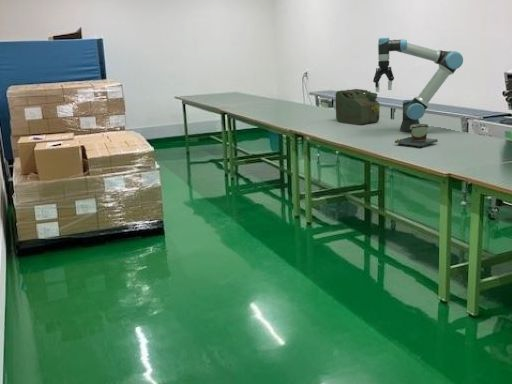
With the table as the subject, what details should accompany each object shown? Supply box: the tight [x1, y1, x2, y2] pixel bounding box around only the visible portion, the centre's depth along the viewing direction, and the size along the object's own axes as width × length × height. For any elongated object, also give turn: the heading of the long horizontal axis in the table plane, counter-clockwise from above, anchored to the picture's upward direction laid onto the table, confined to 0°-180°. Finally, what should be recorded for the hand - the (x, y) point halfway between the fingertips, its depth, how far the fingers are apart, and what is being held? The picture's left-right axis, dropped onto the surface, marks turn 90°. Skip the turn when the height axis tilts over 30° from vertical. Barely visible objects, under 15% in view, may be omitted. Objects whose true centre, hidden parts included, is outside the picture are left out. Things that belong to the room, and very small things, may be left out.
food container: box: [410, 123, 429, 141], centre depth 346 cm, size 12×6×10 cm, turn 102°
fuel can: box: [335, 88, 381, 126], centre depth 453 cm, size 19×35×27 cm, turn 28°
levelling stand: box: [394, 136, 439, 149], centre depth 348 cm, size 18×20×4 cm
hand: (383, 91), depth 382 cm, fingers open, 13 cm apart
